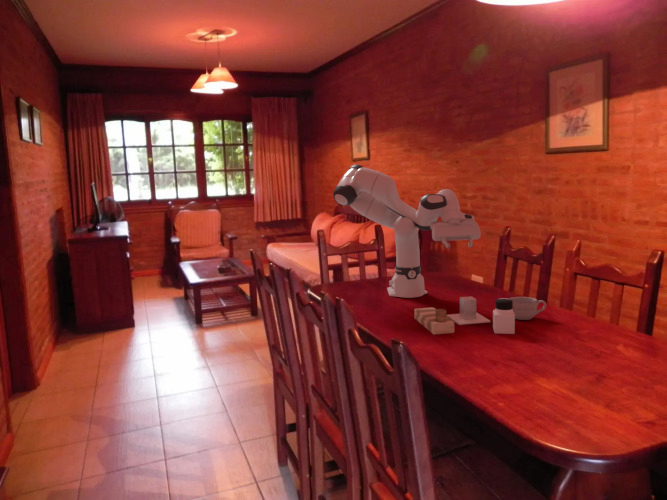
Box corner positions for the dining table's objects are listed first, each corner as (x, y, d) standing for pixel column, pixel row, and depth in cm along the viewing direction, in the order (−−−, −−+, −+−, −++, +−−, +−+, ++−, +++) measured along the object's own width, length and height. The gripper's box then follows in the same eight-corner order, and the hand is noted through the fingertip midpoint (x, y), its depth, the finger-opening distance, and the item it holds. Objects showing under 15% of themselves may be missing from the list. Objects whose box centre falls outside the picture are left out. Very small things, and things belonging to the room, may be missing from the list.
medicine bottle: (515, 334, 193) (515, 302, 191) (494, 333, 195) (494, 301, 193) (512, 328, 200) (513, 297, 198) (492, 327, 201) (493, 296, 200)
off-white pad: (446, 315, 219) (446, 314, 219) (476, 313, 221) (476, 312, 221) (459, 324, 206) (459, 323, 206) (490, 322, 209) (490, 320, 209)
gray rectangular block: (459, 316, 216) (459, 297, 215) (471, 315, 216) (471, 296, 215) (464, 319, 211) (464, 300, 210) (476, 319, 212) (476, 299, 210)
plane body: (414, 318, 217) (414, 299, 216) (433, 316, 219) (433, 297, 217) (433, 334, 196) (433, 313, 195) (454, 332, 197) (454, 311, 196)
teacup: (505, 320, 210) (506, 300, 209) (510, 313, 220) (511, 294, 218) (543, 324, 204) (544, 303, 202) (546, 316, 213) (547, 297, 212)
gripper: (430, 217, 227) (435, 243, 219) (477, 215, 228) (485, 241, 220) (427, 226, 232) (433, 252, 224) (474, 224, 233) (481, 250, 225)
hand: (459, 246), depth 222 cm, fingers open, 8 cm apart
